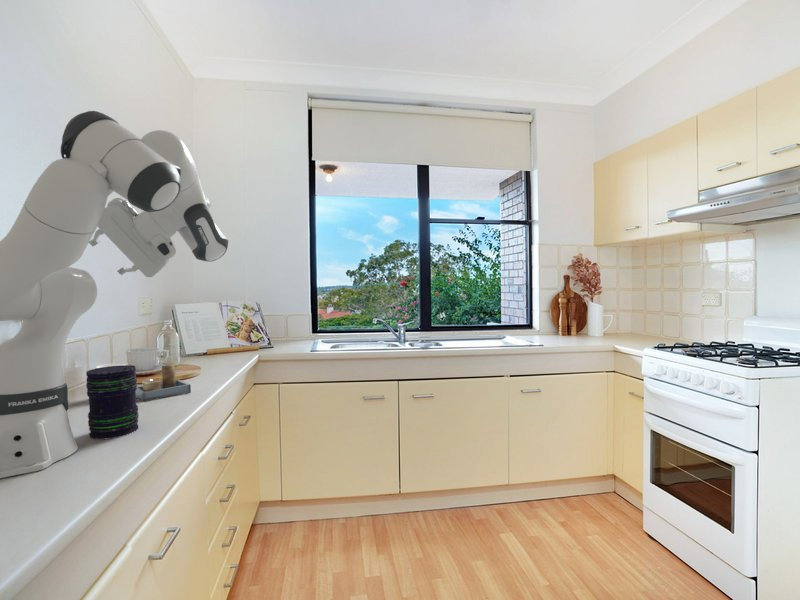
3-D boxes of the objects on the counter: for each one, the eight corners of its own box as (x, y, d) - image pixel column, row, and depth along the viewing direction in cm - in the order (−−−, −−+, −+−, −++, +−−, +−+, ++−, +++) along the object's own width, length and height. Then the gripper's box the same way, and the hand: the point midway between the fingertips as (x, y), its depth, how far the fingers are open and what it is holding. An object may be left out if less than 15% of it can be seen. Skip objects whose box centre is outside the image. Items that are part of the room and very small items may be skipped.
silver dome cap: (144, 394, 134) (143, 381, 134) (141, 392, 136) (141, 380, 136) (155, 392, 136) (154, 379, 136) (152, 390, 139) (151, 378, 138)
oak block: (146, 397, 131) (146, 383, 130) (143, 394, 133) (142, 382, 133) (161, 394, 133) (160, 381, 133) (157, 392, 136) (156, 379, 136)
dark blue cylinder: (79, 441, 96) (76, 374, 95) (101, 427, 105) (98, 366, 105) (129, 437, 98) (125, 371, 97) (145, 423, 107) (142, 364, 107)
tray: (142, 401, 129) (142, 392, 129) (133, 395, 136) (133, 387, 136) (190, 392, 138) (190, 384, 138) (179, 387, 146) (179, 379, 146)
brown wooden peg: (164, 392, 136) (163, 367, 136) (161, 390, 139) (160, 365, 138) (177, 390, 139) (176, 365, 138) (173, 388, 141) (172, 364, 141)
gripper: (117, 195, 106) (68, 227, 105) (176, 260, 115) (132, 291, 113) (123, 193, 112) (77, 224, 111) (180, 256, 120) (137, 285, 119)
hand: (105, 258), depth 112 cm, fingers open, 8 cm apart
